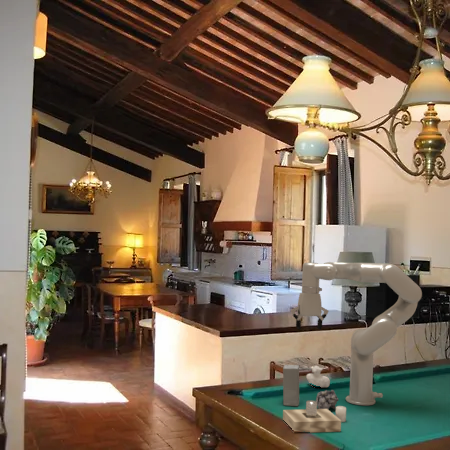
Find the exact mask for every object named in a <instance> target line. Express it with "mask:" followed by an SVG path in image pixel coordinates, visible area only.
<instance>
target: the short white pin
mask: <svg viewBox="0 0 450 450" xmlns="http://www.w3.org/2000/svg"><path fill="white" fill-rule="evenodd" d="M335 407H336V408H335V416H336V417H337V418H339V419H340V420H341V423H345V422H346V421H347V407H346V406H343V405H337V406H336V405H335Z"/></svg>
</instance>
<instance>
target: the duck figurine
mask: <svg viewBox="0 0 450 450" xmlns="http://www.w3.org/2000/svg"><path fill="white" fill-rule="evenodd" d="M310 369H311V373H307V374H306V379H307V381H308V383H312V384H314V385H316V386H320V387H321V388H328V387H329V386H330V383H331V380H330V378H329V377H328V376H325V375H322V374H321V372H322V371H324V370H323V369H324V368H323V367H319V365H314V366H311V368H310Z"/></svg>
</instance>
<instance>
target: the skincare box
mask: <svg viewBox="0 0 450 450" xmlns="http://www.w3.org/2000/svg"><path fill="white" fill-rule="evenodd" d="M282 387H283V388H282V390H283V395H282V396H283V397H282V398H283V406H289V407H290V406H292V407H299V405H300V365H299V364H297V365H296V364H285V365H283V368H282Z"/></svg>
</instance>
